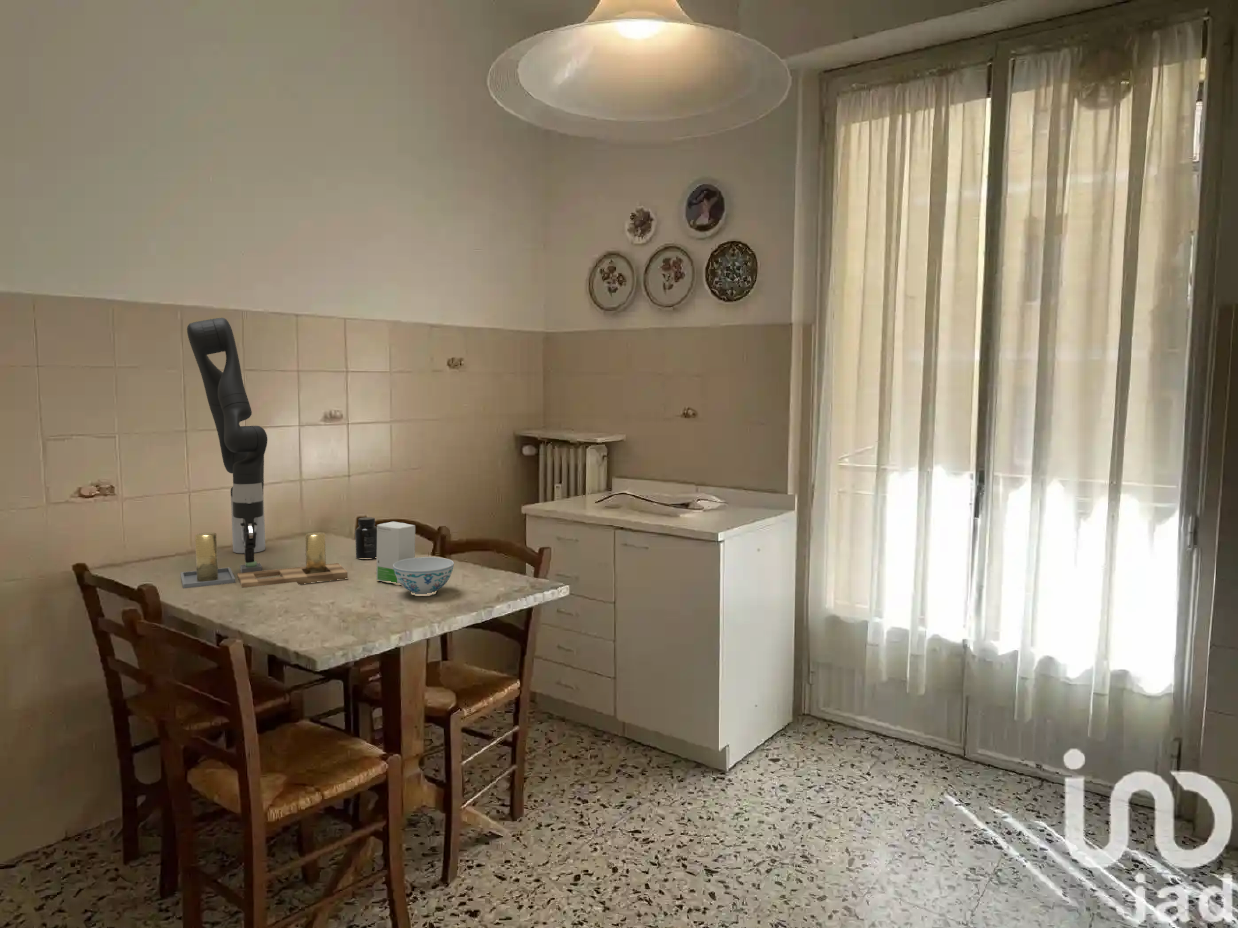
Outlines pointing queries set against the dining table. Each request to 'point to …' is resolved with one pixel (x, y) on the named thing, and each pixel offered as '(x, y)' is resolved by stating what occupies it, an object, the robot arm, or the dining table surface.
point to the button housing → (250, 568)
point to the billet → (206, 557)
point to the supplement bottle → (366, 538)
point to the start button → (251, 564)
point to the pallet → (291, 576)
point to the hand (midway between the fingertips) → (249, 561)
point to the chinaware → (423, 573)
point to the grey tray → (191, 581)
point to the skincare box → (393, 548)
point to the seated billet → (315, 553)
